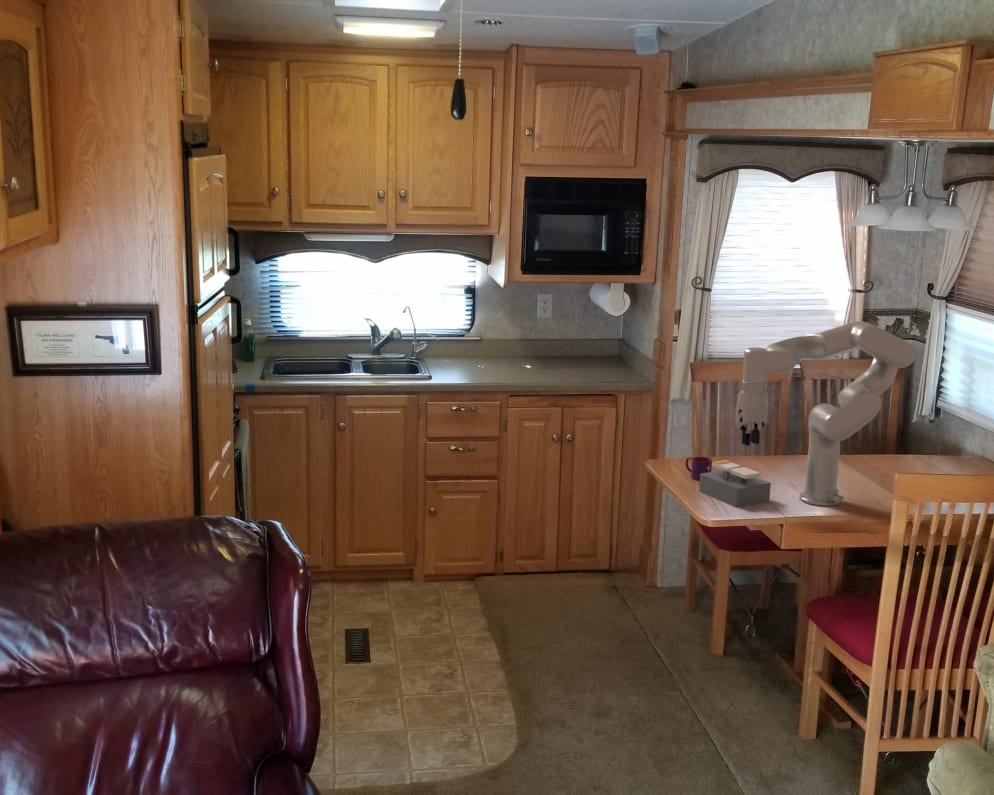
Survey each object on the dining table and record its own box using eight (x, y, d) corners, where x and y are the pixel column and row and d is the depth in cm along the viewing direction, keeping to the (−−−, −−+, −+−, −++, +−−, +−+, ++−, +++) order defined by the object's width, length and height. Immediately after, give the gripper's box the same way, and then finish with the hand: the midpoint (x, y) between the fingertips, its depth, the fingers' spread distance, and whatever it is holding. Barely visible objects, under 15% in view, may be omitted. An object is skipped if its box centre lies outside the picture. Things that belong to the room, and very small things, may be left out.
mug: (701, 482, 348) (702, 463, 347) (680, 474, 356) (681, 456, 355) (714, 479, 352) (716, 460, 350) (694, 471, 360) (695, 453, 358)
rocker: (759, 477, 327) (759, 472, 326) (745, 479, 324) (745, 474, 323) (726, 464, 340) (726, 459, 340) (711, 466, 337) (712, 461, 337)
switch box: (769, 500, 329) (771, 473, 327) (735, 507, 323) (737, 479, 321) (731, 485, 345) (733, 459, 343) (699, 491, 338) (700, 465, 336)
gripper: (765, 382, 327) (761, 438, 332) (725, 387, 320) (722, 444, 324) (782, 387, 321) (778, 443, 325) (742, 392, 313) (738, 449, 317)
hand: (750, 443), depth 324 cm, fingers open, 3 cm apart
